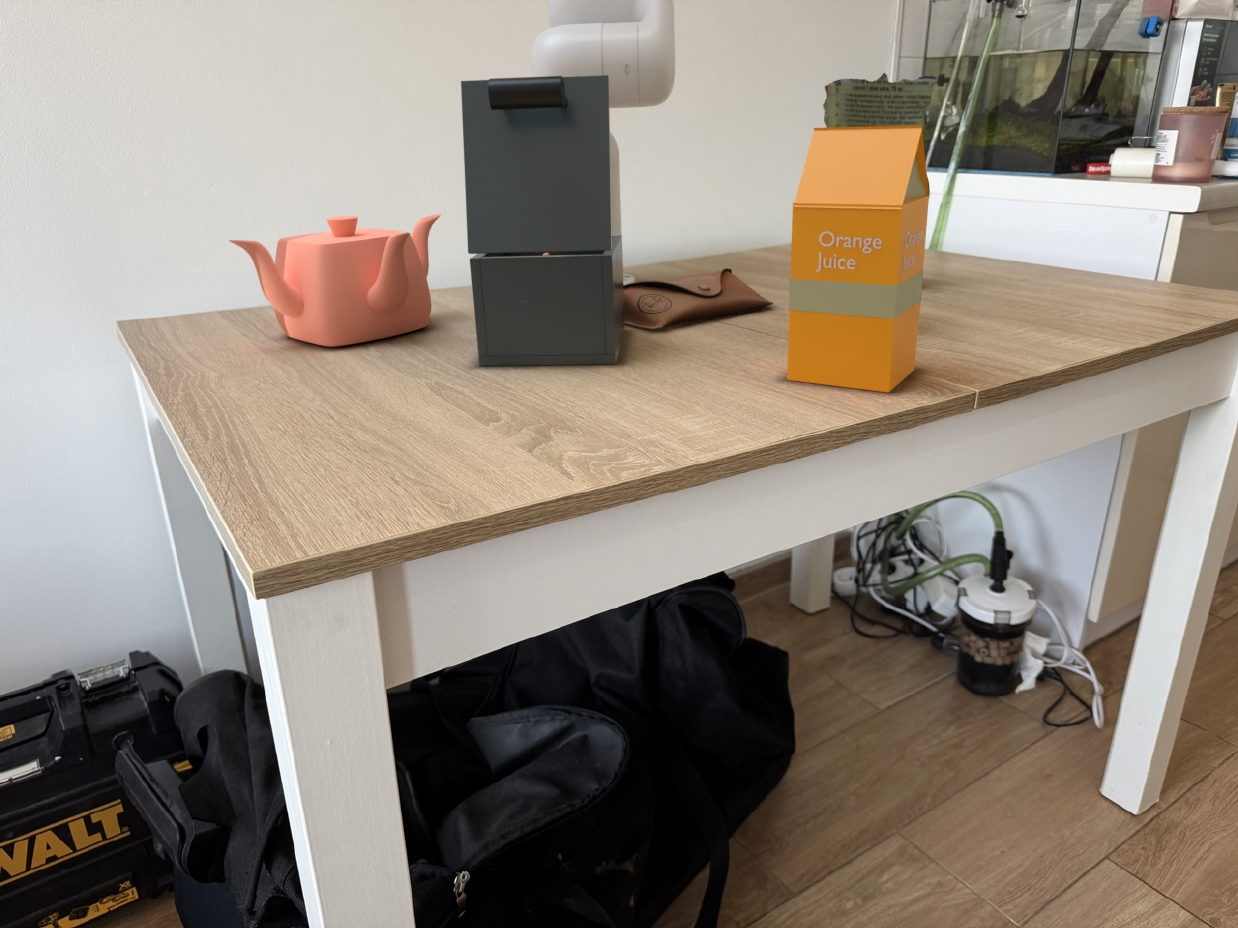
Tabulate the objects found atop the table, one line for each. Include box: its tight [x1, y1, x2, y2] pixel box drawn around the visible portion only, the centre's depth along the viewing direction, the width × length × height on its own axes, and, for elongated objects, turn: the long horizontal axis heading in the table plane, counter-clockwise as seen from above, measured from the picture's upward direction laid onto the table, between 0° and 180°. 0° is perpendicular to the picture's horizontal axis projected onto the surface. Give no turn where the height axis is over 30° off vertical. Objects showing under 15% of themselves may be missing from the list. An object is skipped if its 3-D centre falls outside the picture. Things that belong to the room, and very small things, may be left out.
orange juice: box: [786, 125, 930, 393], centre depth 75 cm, size 8×9×20 cm
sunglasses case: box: [624, 267, 774, 330], centre depth 103 cm, size 18×7×7 cm
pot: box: [228, 213, 442, 347], centre depth 98 cm, size 18×17×12 cm
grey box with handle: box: [460, 75, 612, 255], centre depth 77 cm, size 15×13×6 cm
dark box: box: [469, 235, 626, 367], centre depth 89 cm, size 14×13×10 cm
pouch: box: [822, 72, 939, 198], centre depth 111 cm, size 11×12×25 cm
